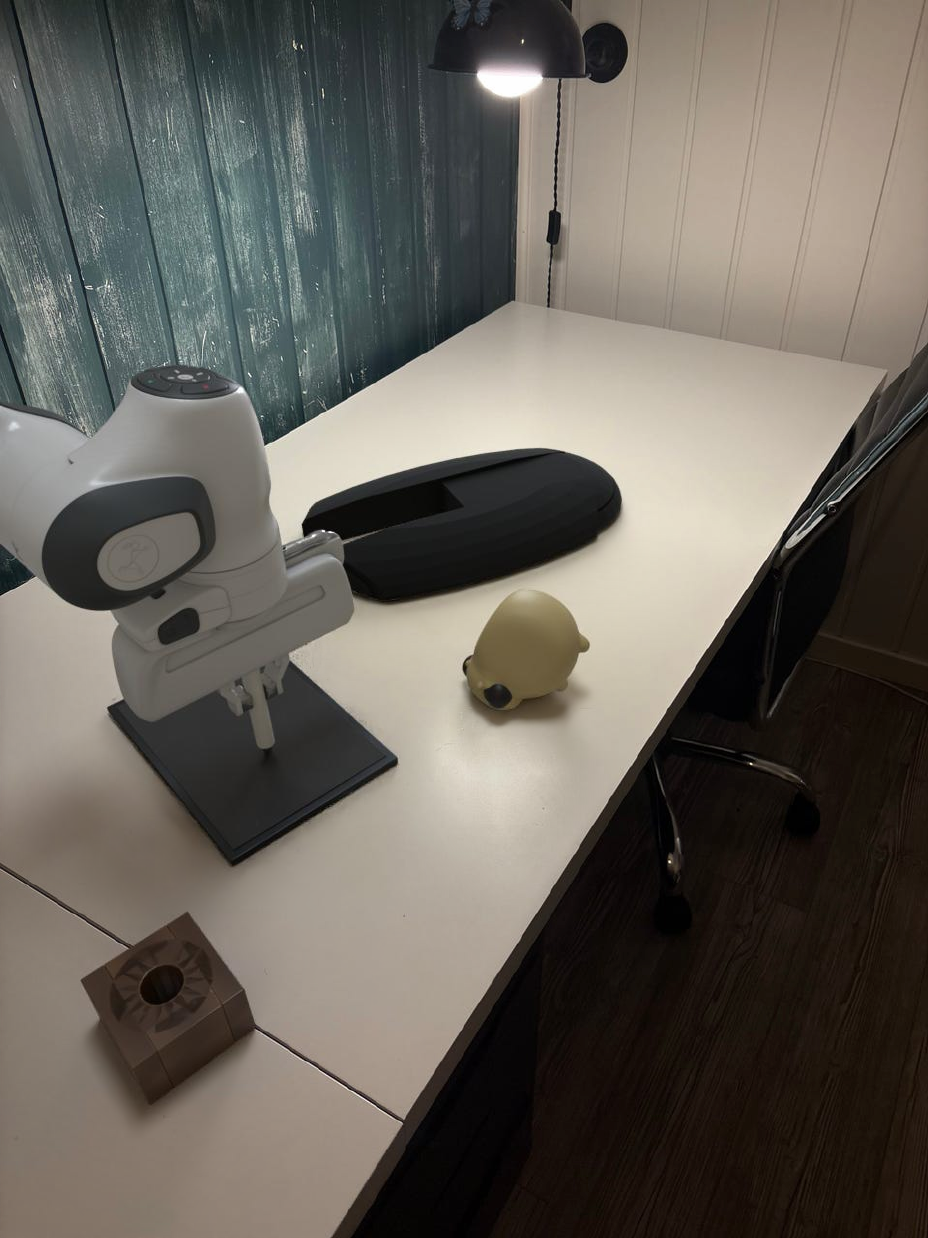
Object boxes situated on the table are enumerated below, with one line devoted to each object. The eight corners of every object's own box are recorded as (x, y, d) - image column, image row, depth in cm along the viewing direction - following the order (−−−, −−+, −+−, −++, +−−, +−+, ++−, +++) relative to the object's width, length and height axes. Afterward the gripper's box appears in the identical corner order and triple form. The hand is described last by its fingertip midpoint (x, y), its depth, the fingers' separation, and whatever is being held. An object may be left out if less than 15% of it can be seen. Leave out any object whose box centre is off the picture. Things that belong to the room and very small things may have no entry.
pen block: (150, 1106, 60) (131, 1069, 57) (99, 1017, 65) (79, 979, 62) (256, 1027, 64) (244, 989, 61) (201, 949, 69) (187, 910, 66)
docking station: (664, 529, 112) (669, 493, 109) (354, 624, 99) (349, 587, 96) (560, 444, 130) (561, 411, 127) (284, 515, 116) (279, 481, 113)
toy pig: (500, 683, 96) (426, 650, 90) (571, 596, 93) (500, 554, 87) (541, 744, 89) (463, 712, 82) (620, 651, 86) (545, 610, 79)
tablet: (232, 867, 74) (230, 860, 74) (108, 713, 89) (106, 706, 88) (398, 763, 83) (397, 756, 82) (260, 637, 97) (259, 631, 97)
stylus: (264, 759, 82) (237, 639, 73) (255, 749, 83) (227, 630, 74) (279, 750, 83) (255, 631, 74) (270, 741, 84) (245, 622, 75)
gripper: (317, 507, 78) (335, 633, 86) (85, 605, 67) (131, 737, 76) (361, 537, 74) (374, 666, 83) (121, 647, 64) (165, 780, 72)
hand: (256, 701), depth 79 cm, fingers closed on stylus, 1 cm apart
